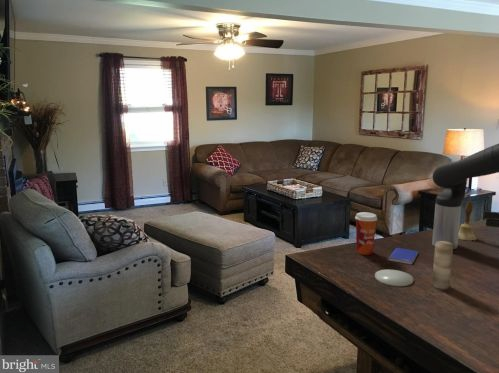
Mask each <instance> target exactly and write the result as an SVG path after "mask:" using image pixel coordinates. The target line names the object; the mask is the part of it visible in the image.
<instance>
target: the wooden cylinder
mask: <svg viewBox="0 0 499 373" xmlns="http://www.w3.org/2000/svg"><path fill="white" fill-rule="evenodd" d="M453 250H454V249H453V244H452V243H450V242H445V241H437V242H436V243H435V246H434V256H433V268H432V269H433V270H432V278H431V279H432V280H431V286H432V287H433V288H435V289H438V290H445V291H446V290H448V289H449V288H450V282H451V270H452V263H453V262H452V261H453V252H454V251H453Z"/></svg>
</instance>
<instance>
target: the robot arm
mask: <svg viewBox="0 0 499 373" xmlns="http://www.w3.org/2000/svg"><path fill="white" fill-rule="evenodd" d="M498 173H499V143H497V144H493V145H492V146H488V147H487V148H484V149H481V150H479V151H477V152H475V153H472V154H471V155H469V156H466V157H465V158H464V157H463V158H462V159H459V160H456V161H453V162H450V163H449V162H448V163H445V164H441V165H439V166H437V167H436V168H435V170H434V171H433V174H432V181H433V183H434V185H436V186H437V187H439V188H443V190H442V191H441V193H439V194H438V195H437V196H436V197H435V207H434V218H433V230H432V238H431V240H432V242H431V245H432V246H433V247H435V243H436V242H437V241H445V242H450V243H452V244H453V250H456V249H457V248H458V244H459V243H458V242H459V239H458V235H459V230H460V226H461V225H460V224H461V223H460V222H461V215H462V214H461V212H462V205H463V204H462V203H463V200H464V199H465V197H466V191H467V190H466V189H467V183H468V180H469V179H472V178H478V177H484V176H489V175H493V174H498ZM483 219H484V220H485V226H486V227H491V228H499V211H497V212H496V211H489V210H488V211H487V210H485V211H484V212H483Z"/></svg>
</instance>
